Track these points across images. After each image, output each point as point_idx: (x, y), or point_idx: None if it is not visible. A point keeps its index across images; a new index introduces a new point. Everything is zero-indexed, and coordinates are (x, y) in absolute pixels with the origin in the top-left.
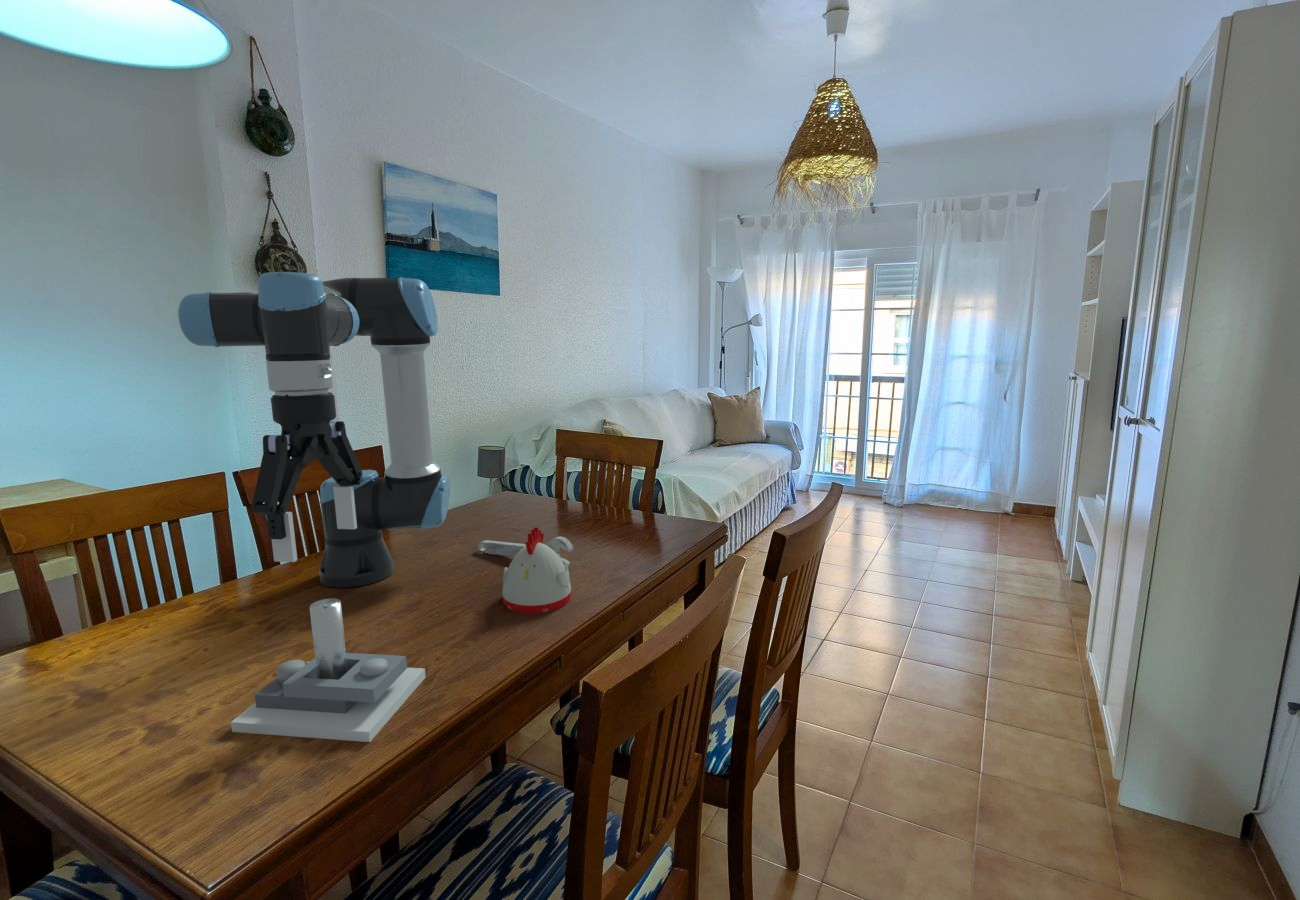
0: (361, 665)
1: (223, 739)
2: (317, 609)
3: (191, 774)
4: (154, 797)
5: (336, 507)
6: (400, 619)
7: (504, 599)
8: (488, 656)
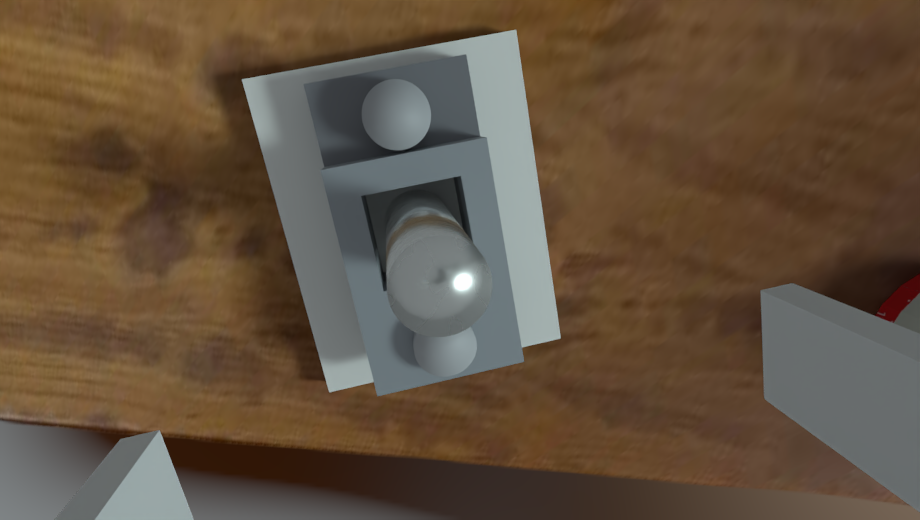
0: None
1: (221, 86)
2: (394, 297)
3: (113, 130)
4: (33, 124)
5: (900, 364)
6: (794, 75)
7: (908, 300)
8: (659, 398)
